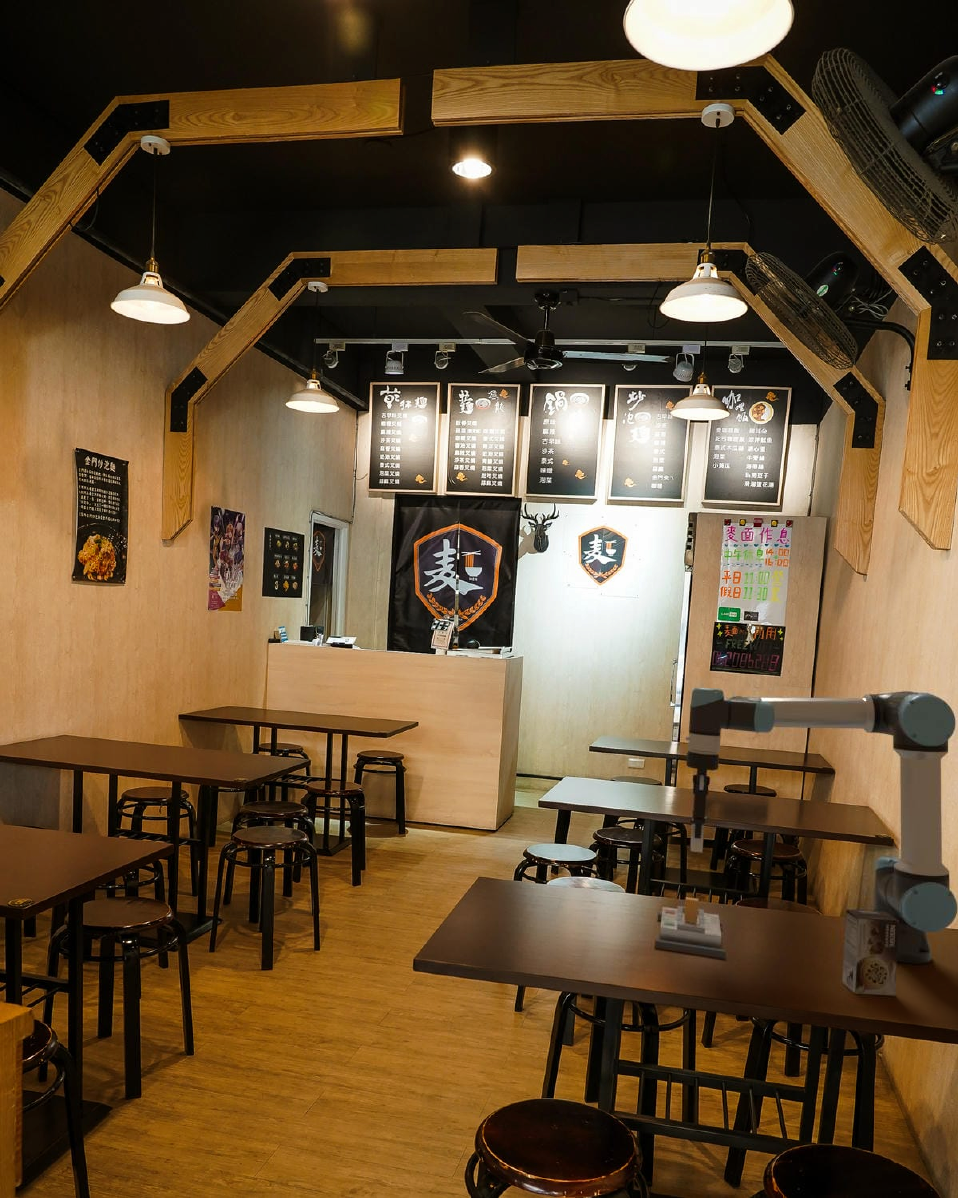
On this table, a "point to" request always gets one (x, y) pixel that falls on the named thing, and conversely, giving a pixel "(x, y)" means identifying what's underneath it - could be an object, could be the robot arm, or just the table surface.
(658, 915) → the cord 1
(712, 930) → the panel
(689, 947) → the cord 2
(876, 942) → the coffee box
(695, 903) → the lever
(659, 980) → the table surface
